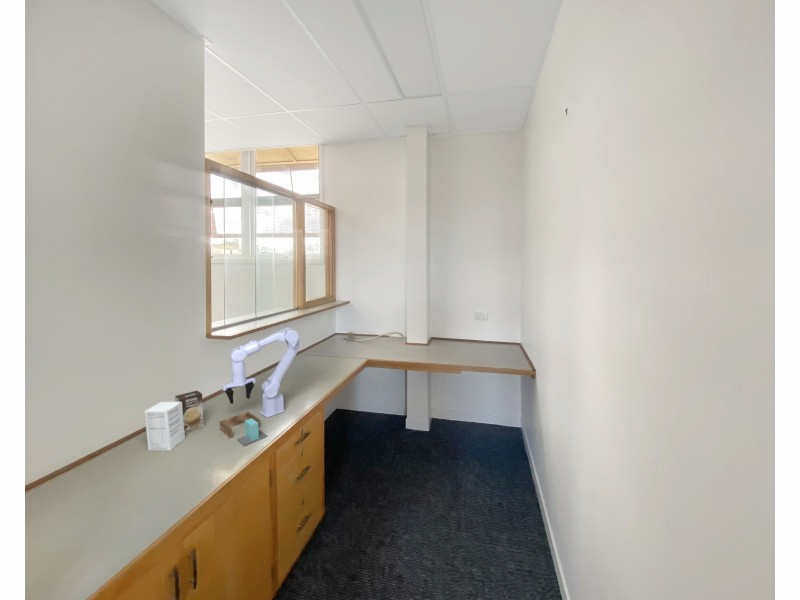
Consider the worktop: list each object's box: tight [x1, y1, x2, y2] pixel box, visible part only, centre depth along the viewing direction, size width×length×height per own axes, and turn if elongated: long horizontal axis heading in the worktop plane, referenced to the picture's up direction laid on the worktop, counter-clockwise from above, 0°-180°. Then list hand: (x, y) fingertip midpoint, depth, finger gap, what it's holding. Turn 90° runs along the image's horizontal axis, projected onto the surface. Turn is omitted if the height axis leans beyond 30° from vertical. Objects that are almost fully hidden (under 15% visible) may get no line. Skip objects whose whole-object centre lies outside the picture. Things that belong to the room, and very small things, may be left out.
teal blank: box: [244, 418, 259, 441], centre depth 141 cm, size 3×6×7 cm, turn 49°
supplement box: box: [144, 401, 186, 452], centre depth 135 cm, size 10×9×17 cm
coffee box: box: [174, 390, 205, 434], centre depth 148 cm, size 9×6×16 cm
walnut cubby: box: [219, 411, 260, 439], centre depth 149 cm, size 13×11×4 cm
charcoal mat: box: [236, 429, 268, 447], centre depth 141 cm, size 10×7×1 cm
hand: (240, 400), depth 157 cm, fingers open, 7 cm apart
